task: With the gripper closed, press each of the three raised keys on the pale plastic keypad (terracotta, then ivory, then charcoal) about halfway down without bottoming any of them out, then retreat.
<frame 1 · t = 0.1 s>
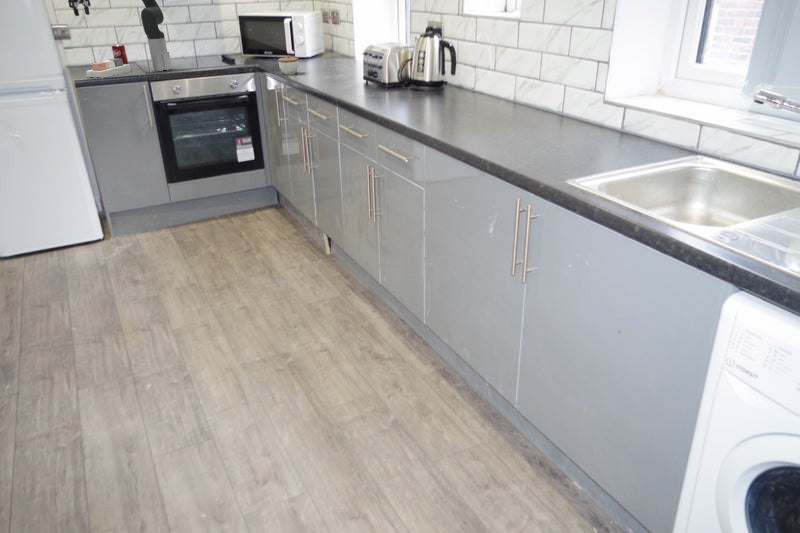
hand: (82, 15, 341), 29 cm above the worktop, fingers open, 8 cm apart
lidded jar: (289, 74, 325), on the worktop
soda can: (122, 66, 361), on the worktop
keypad housing: (110, 74, 335), on the worktop
charcoal key: (116, 63, 339), point 5 cm above the worktop, slide at 0.0 cm
terracotta key: (99, 67, 327), point 5 cm above the worktop, slide at 0.0 cm
ivory key: (107, 64, 333), point 5 cm above the worktop, slide at 0.0 cm
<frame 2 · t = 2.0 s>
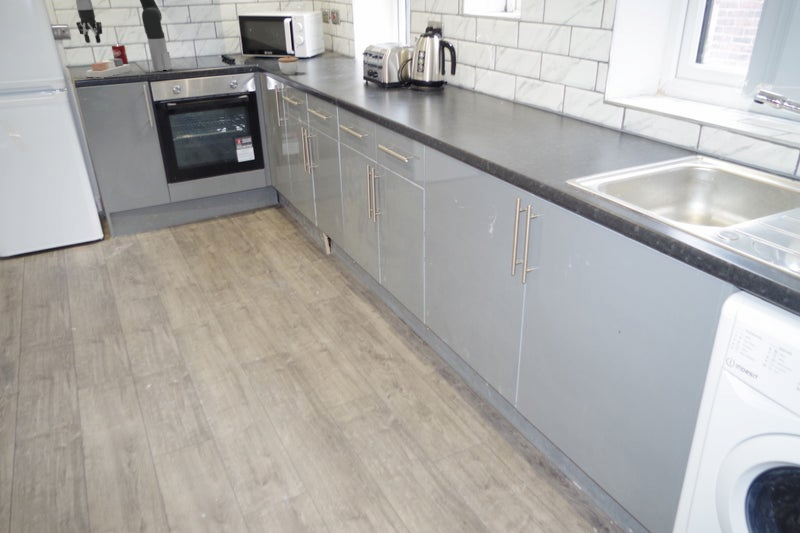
hand: (93, 42, 321), 18 cm above the worktop, fingers open, 5 cm apart
nothing on the worktop moved.
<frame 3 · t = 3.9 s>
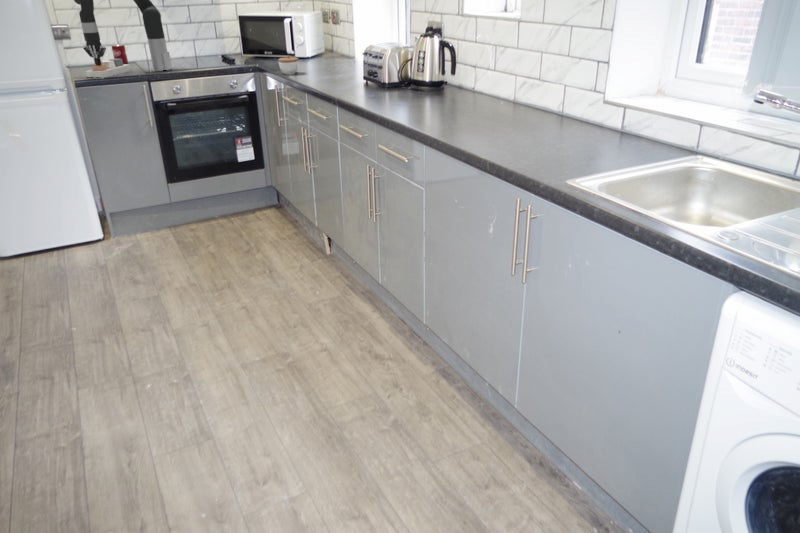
hand: (98, 65, 326), 6 cm above the worktop, fingers closed
terracotta key: (99, 69, 327), point 4 cm above the worktop, slide at 1.2 cm, touching gripper
everything else where it was.
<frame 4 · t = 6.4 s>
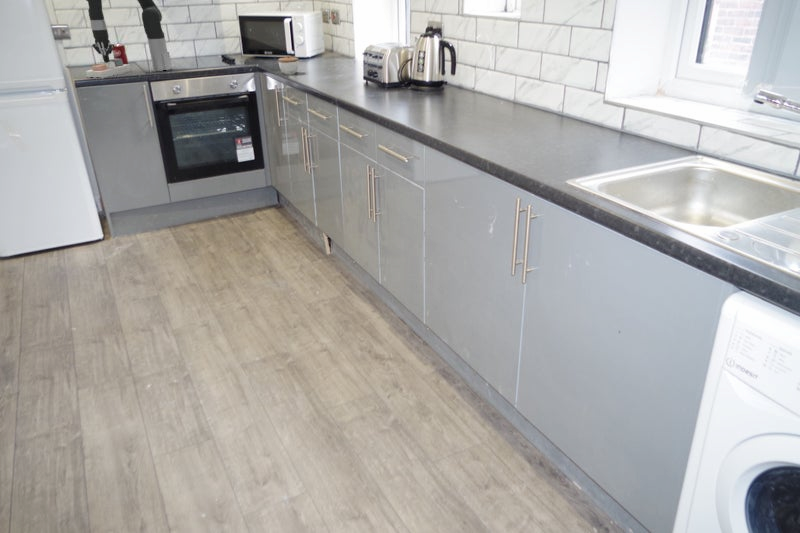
hand: (106, 62, 332), 6 cm above the worktop, fingers closed
terracotta key: (99, 69, 327), point 4 cm above the worktop, slide at 1.3 cm
ivory key: (108, 65, 333), point 4 cm above the worktop, slide at 0.5 cm, touching gripper
everything else where it was.
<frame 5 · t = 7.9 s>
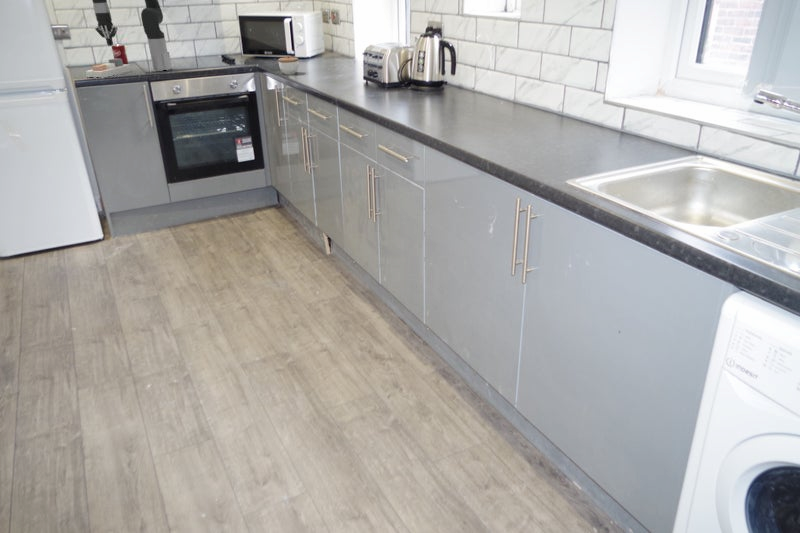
hand: (110, 45, 332), 15 cm above the worktop, fingers closed
ivory key: (108, 67, 333), point 4 cm above the worktop, slide at 1.4 cm
everything else where it was.
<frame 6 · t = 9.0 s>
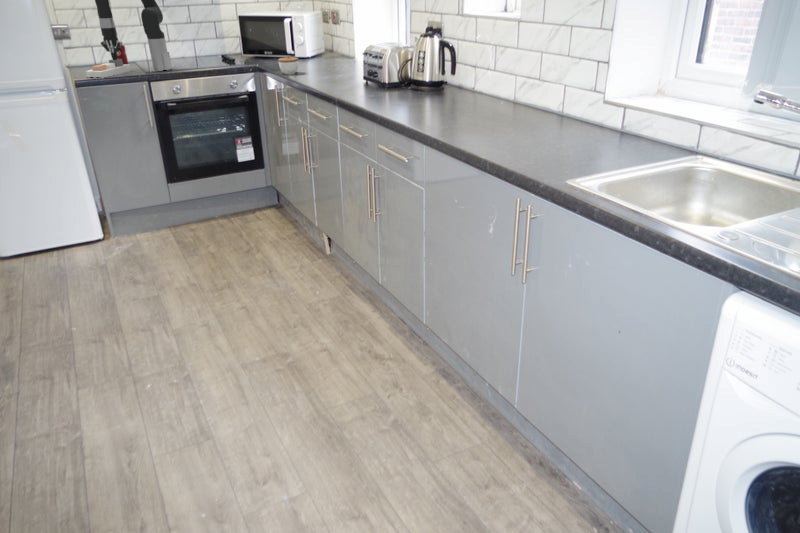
hand: (115, 59, 338), 7 cm above the worktop, fingers closed
charcoal key: (116, 63, 339), point 5 cm above the worktop, slide at 0.2 cm, touching gripper
everything else where it was.
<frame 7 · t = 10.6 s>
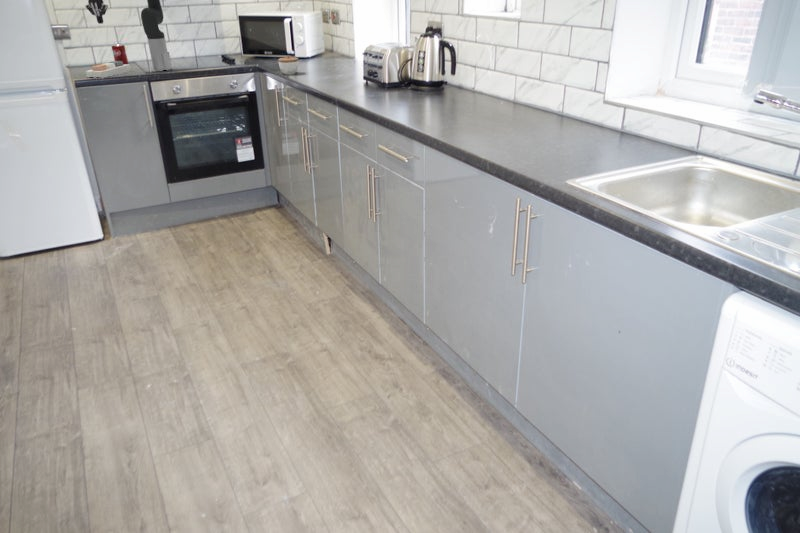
hand: (100, 23, 330), 26 cm above the worktop, fingers closed
charcoal key: (116, 65, 339), point 4 cm above the worktop, slide at 1.4 cm
everything else where it was.
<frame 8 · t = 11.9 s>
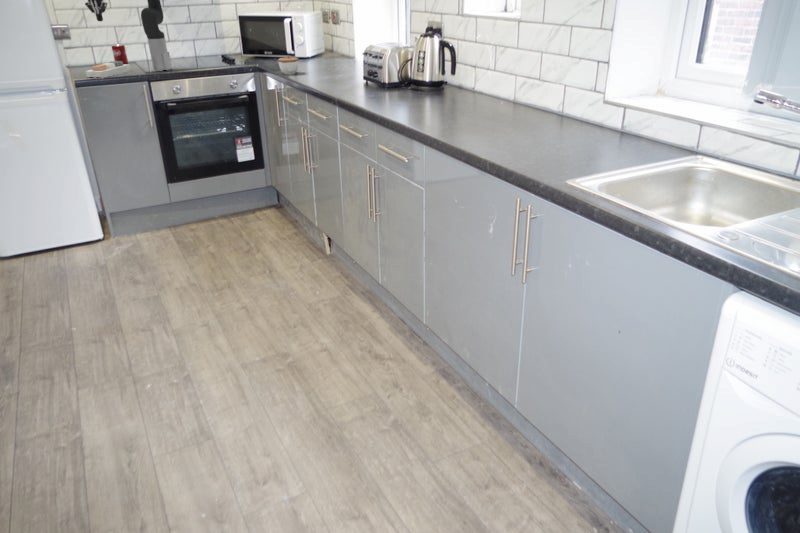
hand: (100, 21, 330), 27 cm above the worktop, fingers closed
nothing on the worktop moved.
at the end: terracotta key slide at 1.3 cm; ivory key slide at 1.4 cm; charcoal key slide at 1.4 cm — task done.
